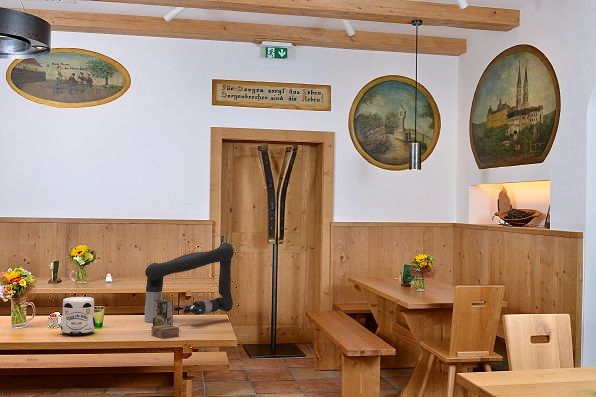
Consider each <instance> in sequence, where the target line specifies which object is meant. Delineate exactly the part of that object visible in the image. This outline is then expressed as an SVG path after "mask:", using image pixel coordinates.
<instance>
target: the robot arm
mask: <svg viewBox="0 0 596 397" xmlns="http://www.w3.org/2000/svg"><path fill="white" fill-rule="evenodd" d="M234 253H235V252H234V247H233V245H232V244H230V243H229V242H223V243H221V244H220V245H219V246H218V247H217V248H214V249H211V250H208V251H196V252H190V253H186V254H184V255H180V256H178V257H176V258H173V259H171V260H168V261H165V262H153V263H150V264H149V265H148V266H147V267H146V269H145V273H144V274H145V276H146V286H145V304H144V321H145V322H146V323H153V301H155V300H159V299H160V300H163V287H164V277H166V276H168V275H173V274H178V273H183V272H189V271H192V270H196V269H198V268H202V267H205V266H207V265H208V266H209V265H210V264H215V263H219V275H218V294H219V295H220V296H221V297H216V298H213V299H209V300H207V299H205V300H203V299H202V300H196V301H193V303H192V304H181V305H177V306H173V312H183V314H194V315H205V314H206V315H207V314H210V313H215V312H218V311H219V310H221V311H223V312H225V313H226V312H227V313H229V312H230V311H231V310H232V309H233V305H234V301H233V297H232V291H231V288H232V286H231V285H232V284H231V283H232V282H231V281H232V279H231V278H232V277H231V276H232V275H231V274H232V273H231V272H232V271H231V270H232V269H231V267H232V266H231V263H232V259H233V256H234Z"/></svg>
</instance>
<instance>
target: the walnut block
mask: <svg viewBox="0 0 596 397" xmlns="http://www.w3.org/2000/svg"><path fill="white" fill-rule="evenodd" d="M179 335H180V327H179V326H175V325H173V326H172V325H161V326H153V325H152V326H151V336H152V337H155V338H158V339H160V340H164V339H171V338H178V337H179Z"/></svg>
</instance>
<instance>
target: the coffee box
mask: <svg viewBox="0 0 596 397" xmlns="http://www.w3.org/2000/svg"><path fill="white" fill-rule="evenodd" d="M173 321H174V300H173V299H171V300H170V299H162V300H160V299H159V300H155V301H153V322H152V327H153V326H161V325H172V326H174V325H173V323H174V322H173Z"/></svg>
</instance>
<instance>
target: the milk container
mask: <svg viewBox="0 0 596 397" xmlns="http://www.w3.org/2000/svg"><path fill="white" fill-rule="evenodd" d="M96 322H97V321H96V318H95V299H94V298H93V297H88V296H73V297H71V296H70V297H66V298H63V300H62V317H61V321H60V330H61V332H62V333H63V334H65V335H69V336H83V335H89V334H91V333H93V332H94V331H95V329H96V325H97V324H96Z"/></svg>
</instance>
